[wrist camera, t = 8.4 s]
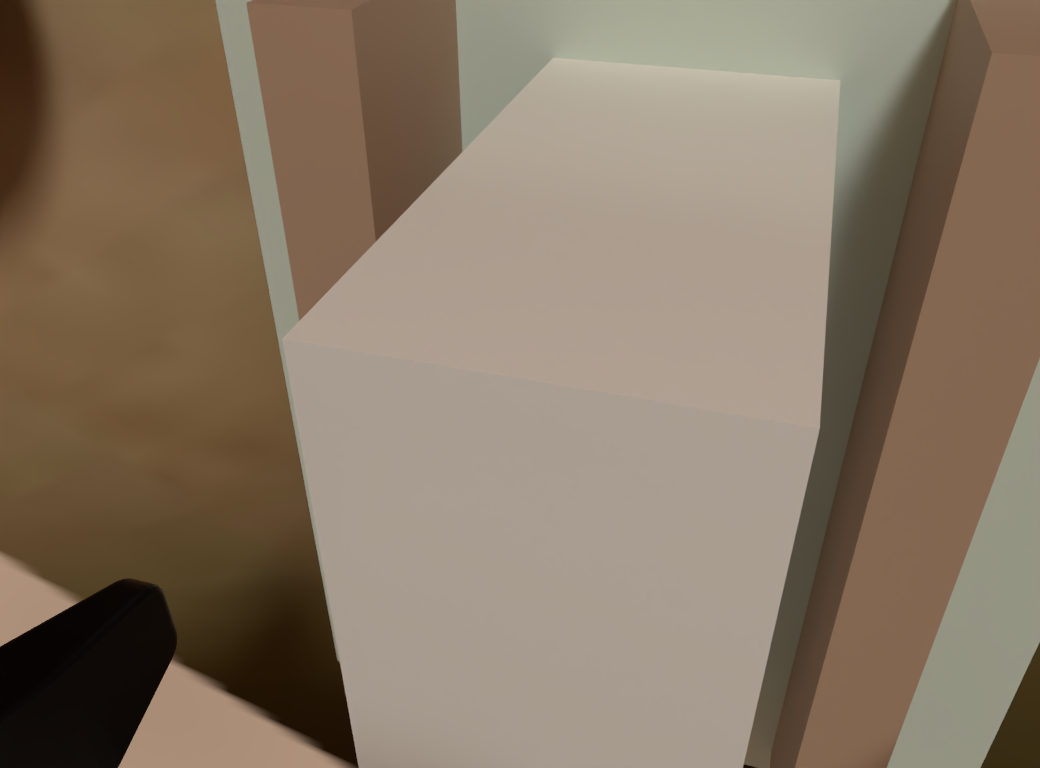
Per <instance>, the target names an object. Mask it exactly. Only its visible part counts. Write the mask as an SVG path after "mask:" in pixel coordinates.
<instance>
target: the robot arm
mask: <svg viewBox="0 0 1040 768" xmlns="http://www.w3.org/2000/svg"><path fill="white" fill-rule="evenodd" d="M176 644H177V633H176V629H175V626H174V623H173V620H172V617H171V614H170V611H169V608H168V605H167V602H166V598H165V595H164V593H163V591H162V589H161V588H160V587H159V586H157V585H155V584H151V583H147V582H143V581H139V580H135V579H122V580H119V581H117V582H114V583H113V584H111V585H109V586H107V587H105V588H104V589H102V590H100V591H98V592H97V593H95V594H93V595H91V596H89V597H88V598H86V599H84V600H82V601H81V602H79V603H77V604H75V605H73V606H72V607H70V608H68V609H66V610H65V611H63V612H61V613H59V614H57V615H56V616H54V617H52V618H50V619H49V620H47V621H45V622H43V623H41V624H40V625H38V626H36V627H34V628H33V629H31V630H29V631H27V632H26V633H24V634H22V635H20V636H18V637H17V638H15V639H13V640H11V641H9V642H8V643H6V644H4V645H2V646H1V647H0V768H118V766H119V764H120V763H121V761H122V759H123V756H124V755H125V753H126V751H127V749H128V747H129V745H130V742H131V741H132V738H133V736H134V734H135V732H136V730H137V728H138V726H139V724H140V722H141V720H142V718H143V716H144V714H145V712H146V710H147V708H148V706H149V704H150V702H151V700H152V698H153V696H154V694H155V692H156V690H157V688H158V686H159V684H160V682H161V680H162V678H163V676H164V674H165V672H166V670H167V668H168V666H169V664H170V662H171V660H172V657H173V655H174V652H175V649H176Z"/></svg>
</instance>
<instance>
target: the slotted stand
mask: <svg viewBox="0 0 1040 768" xmlns="http://www.w3.org/2000/svg"><path fill="white" fill-rule="evenodd" d="M216 6H217V11H218V17H219V22H220V27H221V33H222V38H223V44H224V49H225V55H226V60H227V65H228V71H229V76H230V82H231V87H232V92H233V98H234V103H235V109H236V114H237V120H238V125H239V130H240V136H241V141H242V147H243V152H244V157H245V163H246V168H247V174H248V179H249V185H250V190H251V195H252V201H253V206H254V212H255V217H256V222H257V228H258V233H259V239H260V244H261V250H262V255H263V260H264V266H265V271H266V277H267V282H268V287H269V293H270V298H271V304H272V309H273V315H274V320H275V325H276V331H277V336H278V342H279V347H280V352H281V358H282V363H283V369H284V374H285V380H286V385H287V390H288V396H289V401H290V407H291V412H292V418H293V423H294V428H295V434H296V439H297V445H298V450H299V455H300V461H301V466H302V472H303V477H304V483H305V488H306V493H307V499H308V504H309V510H310V515H311V520H312V526H313V531H314V537H315V542H316V548H317V553H318V558H319V564H320V569H321V575H322V580H323V585H324V591H325V596H326V602H327V607H328V613H329V618H330V623H331V629H332V634H333V640H334V645H335V650H336V656H337V661H340V660H339V654H338V649H337V643H336V637H335V632H334V626H333V621H332V615H331V610H330V604H329V598H328V593H327V587H326V582H325V576H324V570H323V565H322V559H321V554H320V548H319V542H318V537H317V531H316V526H315V520H314V514H313V509H312V503H311V498H310V492H309V486H308V481H307V475H306V470H305V464H304V458H303V453H302V447H301V442H300V436H299V430H298V425H297V419H296V414H295V408H294V402H293V397H292V391H291V386H290V380H289V375H288V369H287V363H286V358H285V352H284V347H283V341H282V339H283V338H284V337H285V336H286V335H287V333H288V332H289V331H290V330H291V329H292V328H293V327H294V326H295V325H296V324H297V323H298V322H299V321H300V320H301V319H302V318H303V317H304V316H305V315H306V314H307V313H308V312H309V311H310V310H311V309H312V308H313V307H314V305H315V304H316V303H317V302H318V301H319V300H320V299H321V298H322V297H323V296H324V295H325V294H326V293H327V292H328V291H329V290H330V289H331V288H332V287H333V286H334V285H335V284H336V283H337V282H338V281H339V280H340V278H341V277H342V276H343V275H344V274H345V273H346V272H347V271H348V270H349V269H350V268H351V267H352V266H353V265H354V264H355V263H356V262H357V261H358V260H359V259H360V258H361V257H362V256H363V255H364V254H365V253H366V252H367V250H368V249H369V248H370V247H371V246H372V245H373V244H374V243H375V242H376V241H377V240H378V239H379V238H380V237H381V236H382V235H383V234H384V233H385V232H386V231H387V230H388V229H389V228H390V227H391V226H392V225H393V223H394V222H395V221H396V220H397V219H398V218H399V217H400V216H401V215H402V214H403V213H404V212H405V211H406V210H407V209H408V208H409V207H410V206H411V205H412V204H413V203H414V202H415V201H416V200H417V199H418V198H419V197H420V195H421V194H422V193H423V192H424V191H425V190H426V189H427V188H428V187H429V186H430V185H431V184H432V183H433V182H434V181H435V180H436V179H437V178H438V177H439V176H440V175H441V174H442V173H443V172H444V171H445V170H446V169H447V167H448V166H449V165H450V164H451V163H452V162H453V161H454V160H455V159H456V158H457V157H458V156H459V155H460V154H461V153H462V152H463V151H464V150H465V149H466V148H467V147H468V146H469V145H470V144H471V143H472V142H473V140H474V139H475V138H476V137H477V136H478V135H479V134H480V133H481V132H482V131H483V130H484V129H485V128H486V127H487V126H488V125H489V124H490V123H491V122H492V121H493V120H494V119H495V118H496V117H497V116H498V115H499V114H500V112H501V111H502V110H503V109H504V108H505V107H506V106H507V105H508V104H509V103H510V102H511V101H512V100H513V99H514V98H515V97H516V96H517V95H518V94H519V93H520V92H521V91H522V90H523V89H524V88H525V87H526V85H527V84H528V83H529V82H530V81H531V80H532V79H533V78H534V77H535V76H536V75H537V74H538V73H539V72H540V71H541V70H542V69H543V68H544V67H545V66H546V65H547V64H548V63H549V62H550V61H551V60H552V59H553V58H562V59H575V60H587V61H600V62H612V63H625V64H638V65H650V66H663V67H676V68H688V69H701V70H714V71H726V72H739V73H752V74H764V75H777V76H790V77H802V78H815V79H828V80H840V96H839V113H838V130H837V146H836V163H835V180H834V197H833V214H832V231H831V247H830V264H829V281H828V298H827V315H826V332H825V349H824V365H823V382H822V399H821V416H820V430H819V434H818V439H817V443H816V447H815V452H814V456H813V461H812V465H811V469H810V474H809V478H808V483H807V487H806V492H805V496H804V500H803V505H802V509H801V514H800V518H799V522H798V527H797V531H796V536H795V540H794V545H793V549H792V553H791V558H790V562H789V567H788V571H787V575H786V580H785V584H784V589H783V593H782V597H781V602H780V606H779V611H778V615H777V620H776V624H775V628H774V633H773V637H772V642H771V646H770V650H769V655H768V659H767V664H766V668H765V673H764V677H763V681H762V686H761V690H760V695H759V699H758V703H757V708H756V712H755V717H754V721H753V726H752V730H751V734H750V739H749V743H748V748H747V752H746V756H745V761H744V764H745V765H749V766H753V767H757V768H980V767H981V765H982V763H983V761H984V759H985V757H986V755H987V753H988V750H989V748H990V746H991V744H992V742H993V740H994V738H995V736H996V733H997V731H998V729H999V727H1000V725H1001V723H1002V721H1003V719H1004V716H1005V714H1006V712H1007V710H1008V708H1009V706H1010V704H1011V702H1012V699H1013V697H1014V695H1015V693H1016V691H1017V689H1018V687H1019V685H1020V682H1021V680H1022V678H1023V676H1024V674H1025V672H1026V670H1027V668H1028V665H1029V663H1030V661H1031V659H1032V657H1033V655H1034V653H1035V651H1036V649H1037V646H1038V644H1039V642H1040V0H216Z"/></svg>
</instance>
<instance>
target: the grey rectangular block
mask: <svg viewBox="0 0 1040 768" xmlns="http://www.w3.org/2000/svg"><path fill="white" fill-rule="evenodd" d="M839 96H840V80H828V79H815V78H802V77H790V76H777V75H764V74H752V73H739V72H726V71H714V70H701V69H688V68H676V67H663V66H650V65H638V64H625V63H612V62H600V61H587V60H575V59H562V58H553V59H552V60H551V61H550V62H549V63H548V64H547V65H546V66H545V67H544V68H543V69H542V70H541V71H540V72H539V73H538V74H537V75H536V76H535V77H534V78H533V79H532V80H531V81H530V82H529V83H528V84H527V85H526V87H525V88H524V89H523V90H522V91H521V92H520V93H519V94H518V95H517V96H516V97H515V98H514V99H513V100H512V101H511V102H510V103H509V104H508V105H507V106H506V107H505V108H504V109H503V110H502V111H501V112H500V114H499V115H498V116H497V117H496V118H495V119H494V120H493V121H492V122H491V123H490V124H489V125H488V126H487V127H486V128H485V129H484V130H483V131H482V132H481V133H480V134H479V135H478V136H477V137H476V138H475V139H474V140H473V142H472V143H471V144H470V145H469V146H468V147H467V148H466V149H465V150H464V151H463V152H462V153H461V154H460V155H459V156H458V157H457V158H456V159H455V160H454V161H453V162H452V163H451V164H450V165H449V166H448V167H447V169H446V170H445V171H444V172H443V173H442V174H441V175H440V176H439V177H438V178H437V179H436V180H435V181H434V182H433V183H432V184H431V185H430V186H429V187H428V188H427V189H426V190H425V191H424V192H423V193H422V194H421V195H420V197H419V198H418V199H417V200H416V201H415V202H414V203H413V204H412V205H411V206H410V207H409V208H408V209H407V210H406V211H405V212H404V213H403V214H402V215H401V216H400V217H399V218H398V219H397V220H396V221H395V222H394V223H393V225H392V226H391V227H390V228H389V229H388V230H387V231H386V232H385V233H384V234H383V235H382V236H381V237H380V238H379V239H378V240H377V241H376V242H375V243H374V244H373V245H372V246H371V247H370V248H369V249H368V250H367V252H366V253H365V254H364V255H363V256H362V257H361V258H360V259H359V260H358V261H357V262H356V263H355V264H354V265H353V266H352V267H351V268H350V269H349V270H348V271H347V272H346V273H345V274H344V275H343V276H342V277H341V278H340V280H339V281H338V282H337V283H336V284H335V285H334V286H333V287H332V288H331V289H330V290H329V291H328V292H327V293H326V294H325V295H324V296H323V297H322V298H321V299H320V300H319V301H318V302H317V303H316V304H315V305H314V307H313V308H312V309H311V310H310V311H309V312H308V313H307V314H306V315H305V316H304V317H303V318H302V319H301V320H300V321H299V322H298V323H297V324H296V325H295V326H294V327H293V328H292V329H291V330H290V331H289V332H288V333H287V335H286V336H285V337H284V338H283V339H282V341H283V347H284V352H285V358H286V363H287V369H288V375H289V380H290V386H291V391H292V397H293V402H294V408H295V414H296V419H297V425H298V430H299V436H300V442H301V447H302V453H303V458H304V464H305V470H306V475H307V481H308V486H309V492H310V498H311V503H312V509H313V514H314V520H315V526H316V531H317V537H318V542H319V548H320V554H321V559H322V565H323V570H324V576H325V582H326V587H327V593H328V598H329V604H330V610H331V615H332V621H333V626H334V632H335V637H336V643H337V649H338V654H339V660H340V665H341V671H342V677H343V682H344V688H345V693H346V699H347V705H348V710H349V716H350V721H351V727H352V733H353V738H354V744H355V749H356V755H357V761H358V766H359V768H743V765H744V761H745V756H746V752H747V748H748V743H749V739H750V734H751V730H752V726H753V721H754V717H755V712H756V708H757V703H758V699H759V695H760V690H761V686H762V681H763V677H764V673H765V668H766V664H767V659H768V655H769V650H770V646H771V642H772V637H773V633H774V628H775V624H776V620H777V615H778V611H779V606H780V602H781V597H782V593H783V589H784V584H785V580H786V575H787V571H788V567H789V562H790V558H791V553H792V549H793V545H794V540H795V536H796V531H797V527H798V522H799V518H800V514H801V509H802V505H803V500H804V496H805V492H806V487H807V483H808V478H809V474H810V469H811V465H812V461H813V456H814V452H815V447H816V443H817V439H818V434H819V430H820V416H821V399H822V382H823V365H824V349H825V332H826V315H827V298H828V281H829V264H830V247H831V231H832V214H833V197H834V180H835V163H836V146H837V130H838V113H839Z"/></svg>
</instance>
